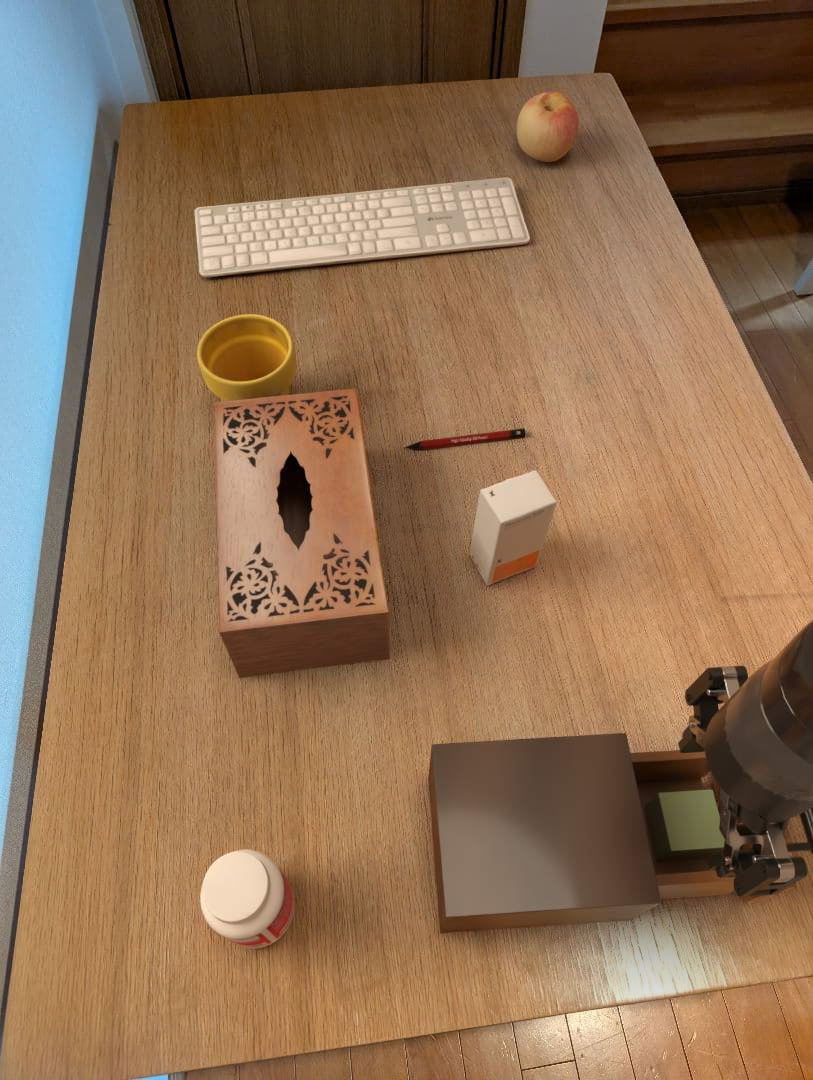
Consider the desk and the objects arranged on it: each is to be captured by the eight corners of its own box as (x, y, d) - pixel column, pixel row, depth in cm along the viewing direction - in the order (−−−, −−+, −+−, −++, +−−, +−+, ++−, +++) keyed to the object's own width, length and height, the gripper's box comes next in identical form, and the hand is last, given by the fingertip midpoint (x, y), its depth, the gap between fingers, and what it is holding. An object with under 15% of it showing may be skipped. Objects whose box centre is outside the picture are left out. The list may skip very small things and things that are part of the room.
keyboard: (201, 282, 107) (197, 267, 105) (197, 221, 113) (193, 206, 111) (530, 246, 111) (533, 231, 109) (509, 189, 117) (511, 174, 115)
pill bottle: (274, 853, 70) (255, 823, 60) (309, 920, 67) (294, 900, 57) (207, 895, 68) (176, 870, 58) (240, 966, 65) (213, 952, 56)
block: (695, 803, 70) (713, 789, 66) (709, 858, 68) (728, 847, 64) (644, 806, 70) (658, 792, 66) (655, 862, 68) (671, 851, 64)
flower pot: (196, 423, 94) (176, 363, 86) (243, 364, 99) (229, 301, 91) (274, 455, 92) (262, 396, 84) (318, 392, 97) (311, 330, 88)
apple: (558, 132, 125) (567, 79, 118) (582, 166, 120) (593, 113, 113) (504, 142, 123) (510, 89, 116) (526, 177, 119) (534, 124, 112)
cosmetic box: (486, 588, 83) (499, 524, 73) (468, 555, 85) (477, 488, 75) (539, 567, 84) (558, 501, 74) (519, 535, 87) (536, 467, 76)
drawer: (772, 760, 73) (810, 732, 67) (814, 898, 67) (859, 882, 61) (559, 773, 72) (576, 746, 66) (582, 914, 66) (602, 899, 60)
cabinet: (601, 767, 74) (626, 732, 65) (629, 920, 67) (661, 903, 59) (428, 777, 73) (431, 744, 65) (439, 933, 66) (445, 917, 58)
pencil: (403, 447, 93) (403, 441, 92) (523, 432, 94) (524, 426, 93) (404, 453, 92) (404, 447, 91) (524, 438, 94) (526, 432, 93)
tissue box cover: (231, 462, 91) (214, 402, 83) (360, 448, 92) (356, 388, 84) (239, 677, 78) (219, 632, 69) (389, 658, 79) (388, 611, 70)
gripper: (903, 858, 44) (784, 903, 58) (816, 619, 51) (729, 709, 65) (765, 868, 44) (678, 911, 57) (698, 626, 51) (635, 715, 65)
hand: (705, 803), depth 61 cm, fingers open, 8 cm apart
